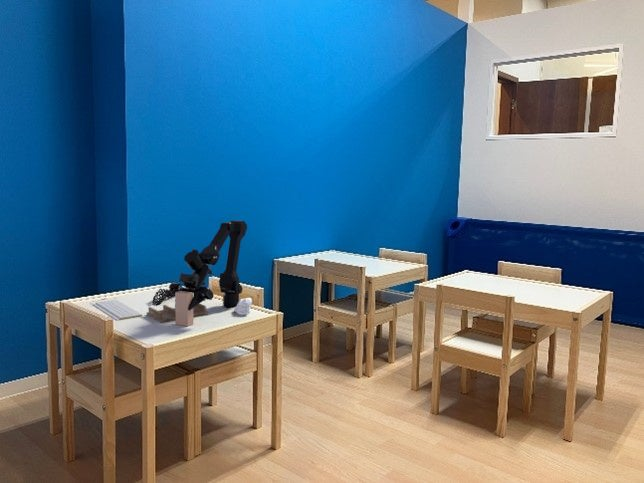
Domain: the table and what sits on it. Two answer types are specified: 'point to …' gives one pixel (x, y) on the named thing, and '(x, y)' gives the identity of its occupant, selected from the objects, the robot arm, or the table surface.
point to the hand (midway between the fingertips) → (182, 308)
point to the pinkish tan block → (183, 308)
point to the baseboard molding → (117, 309)
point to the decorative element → (162, 296)
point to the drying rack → (173, 313)
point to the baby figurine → (243, 306)
